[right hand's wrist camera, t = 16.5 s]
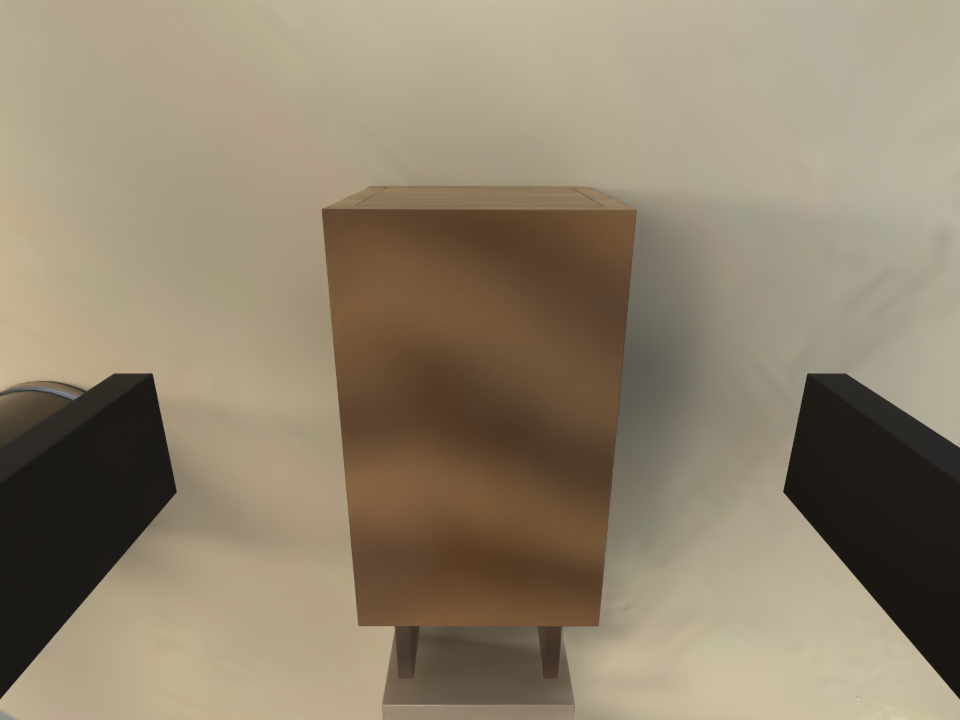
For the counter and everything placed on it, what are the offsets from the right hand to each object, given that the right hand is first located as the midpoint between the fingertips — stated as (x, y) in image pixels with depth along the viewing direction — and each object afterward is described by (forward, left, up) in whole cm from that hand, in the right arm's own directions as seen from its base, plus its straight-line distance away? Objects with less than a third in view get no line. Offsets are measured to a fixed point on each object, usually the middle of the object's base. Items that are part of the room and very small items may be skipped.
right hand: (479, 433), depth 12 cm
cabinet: (0, -6, -21) cm, 22 cm away
